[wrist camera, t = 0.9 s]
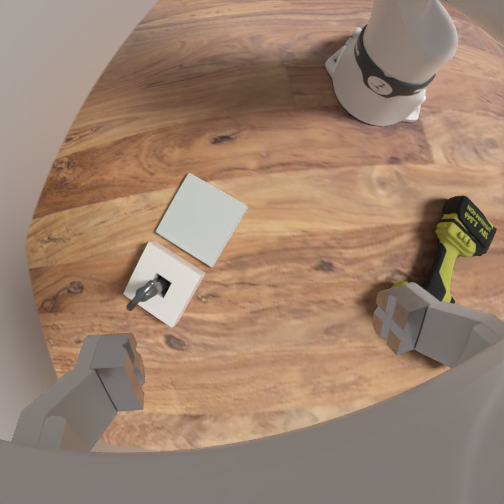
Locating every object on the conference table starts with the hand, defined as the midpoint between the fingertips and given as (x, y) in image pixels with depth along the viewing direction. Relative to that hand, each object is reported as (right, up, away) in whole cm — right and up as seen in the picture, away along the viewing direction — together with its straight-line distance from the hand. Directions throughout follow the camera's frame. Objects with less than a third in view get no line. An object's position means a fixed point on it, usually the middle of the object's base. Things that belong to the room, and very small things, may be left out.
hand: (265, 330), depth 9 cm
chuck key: (-15, -3, +40) cm, 42 cm away
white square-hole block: (-15, -3, +40) cm, 42 cm away
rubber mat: (-9, +8, +38) cm, 40 cm away
